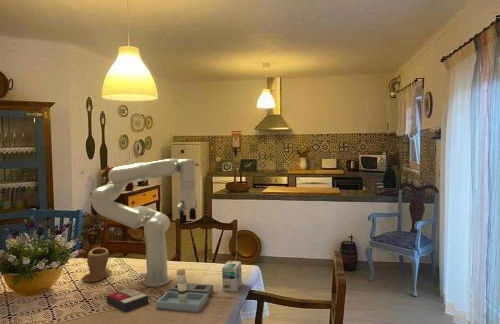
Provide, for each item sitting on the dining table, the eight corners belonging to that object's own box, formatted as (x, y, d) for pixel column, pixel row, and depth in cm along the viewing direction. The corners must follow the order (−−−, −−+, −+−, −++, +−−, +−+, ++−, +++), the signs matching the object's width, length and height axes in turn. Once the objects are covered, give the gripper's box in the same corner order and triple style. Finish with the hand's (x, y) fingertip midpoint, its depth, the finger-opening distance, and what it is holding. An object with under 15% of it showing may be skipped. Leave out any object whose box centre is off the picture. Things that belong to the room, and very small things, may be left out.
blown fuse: (176, 304, 160) (175, 280, 159) (180, 300, 164) (179, 277, 163) (185, 305, 159) (184, 280, 159) (188, 301, 163) (188, 277, 162)
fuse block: (168, 295, 172) (168, 288, 171) (175, 288, 179) (175, 282, 179) (207, 298, 168) (207, 291, 167) (213, 291, 175) (213, 284, 175)
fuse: (175, 294, 173) (175, 271, 172) (179, 290, 177) (178, 269, 176) (183, 294, 172) (183, 272, 172) (187, 291, 176) (186, 269, 175)
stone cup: (99, 284, 187) (98, 253, 186) (78, 282, 190) (77, 252, 189) (118, 274, 201) (117, 245, 201) (99, 272, 205) (97, 243, 204)
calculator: (129, 287, 174) (148, 293, 163) (130, 296, 174) (149, 304, 164) (106, 294, 166) (124, 302, 155) (106, 304, 166) (125, 313, 155)
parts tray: (156, 308, 158) (156, 301, 158) (168, 298, 169) (167, 291, 169) (198, 312, 154) (198, 304, 154) (207, 300, 165) (207, 293, 165)
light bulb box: (236, 292, 174) (236, 268, 173) (222, 291, 175) (221, 267, 174) (242, 283, 184) (241, 261, 184) (228, 282, 185) (227, 260, 185)
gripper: (188, 183, 194) (189, 217, 195) (171, 187, 178) (171, 224, 179) (202, 183, 192) (203, 218, 193) (185, 187, 175) (186, 225, 176)
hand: (188, 221), depth 186 cm, fingers open, 9 cm apart
